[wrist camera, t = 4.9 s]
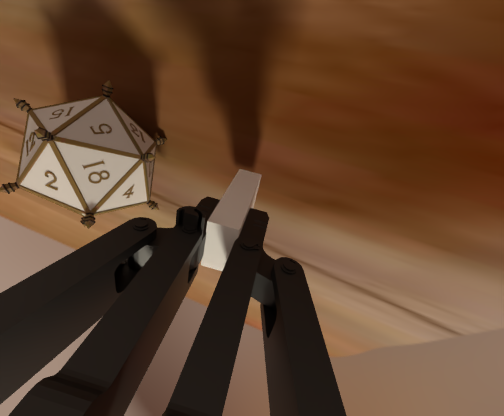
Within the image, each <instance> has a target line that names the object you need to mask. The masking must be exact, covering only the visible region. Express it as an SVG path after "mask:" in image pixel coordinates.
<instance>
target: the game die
mask: <svg viewBox="0 0 504 416" xmlns="http://www.w3.org/2000/svg"><path fill="white" fill-rule="evenodd" d="M102 86H103V89H102V90H103V95H102V96H97V97H91V98H86V99H81V100H76V101H71V102H66V103H61V104H55V105H50V106H45V107H40V108H35V109H32V108H31V107H30V106H29V105H30V104H27V103H26V102H25V100H19V99H15V98H13V99H14V100H15V102H16V104H17V105H16V106H17V108H20V109H21V110H22V111H26V112H27V113H28V115H27V121H26V127H25V132H24V138H23V144H22V150H21V156H20V162H19V168H18V173H17V179H16V182H15V183H8V184H2V186H1V188H0V192H5V193H8V194H10V192H12V191H13V192H15V190H16V189H18V188H21V189H23V190H25V191H28V192H30V193H32V194H34V195H37V196H39V197H41V198H44V199H46V200H48V201H50V202H53V203H55V204H57V205H59V206H62V207H64V208H66V209H68V210H71V211H73V212H75V213H77V214H80V215H82V216H83V218H81V219H82V221H81V223H82V224H83V225H84V227H85V226H87V228H88V229H89V228H90V227H91V226H92V225H93V224H94V223H95V221H94V220H95V218H94V216H95V215H99V214H103V213H108V212H112V211H116V210H121V209H125V208H129V207H134V206H138V205H143V204H148V205H149V207H151V208H152V209H157V210H159V208H158V205H157V203H155V201H151V200H150V196H151V188H152V179H153V171H154V162H155V154H156V145H161V144H164V142H165V141H166V140H167V139H165V138H162V137H160V138H157V139H156V140H154V139H153V138H151V137H150V136H149V135H148V134H147V133H146V132H145V131H144V130H143V129H142V128H141V127H140V126H139V125H138V124H137V123H136V122H135V121H134V120H133V119H132V118H131V117H130V116H129V115H128V114H127V113H125V112H124V111H123V110H122V109H121V108H120V107H119V106H118V105H117V104H116V103H115V102H114V101H113V100H112V99H111V98H110V95H111V93H112V89H113V88H112V86H111V83H110V81H109V80H108V81H107V82H106V83H105V84H104V85H102Z"/></svg>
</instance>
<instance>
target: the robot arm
mask: <svg viewBox="0 0 504 416" xmlns="http://www.w3.org/2000/svg"><path fill="white" fill-rule="evenodd" d="M260 179H261V174H257V173H253V172H250V171H246V170H243V169H239V171H238V173H237V174H236V176H235V177H234V179H233V181H232V182H231V184H230V185H229V187H228V189H227V190H226V192H225V193H224V195H223V197H222V198H221V200H218V199H215V198H211V197H206V198H204V199H202V200H201V201H200V202H199V204H198V205H197V206H196V207H192V206H185V207H182V208H179V209H178V210H177V215H176V225H175V227H174V228H157V225H156V222H155V221H153V220H152V219H149V218H144V217H139V218H134V219H131V220H129V221H127V222H125V223H124V224H122V225H120V226H118V227H117V228H115V229H113V230H111V231H109V232H108V233H106V234H104V235H102V236H101V237H99V238H97V239H95V240H94V241H92V242H90V243H88V244H87V245H85V246H83V247H81V248H79V249H78V250H76V251H74V252H72V253H71V254H69V255H67V256H65V257H64V258H62V259H60V260H58V261H56V262H55V263H53V264H51V265H49V266H48V267H46V268H44V269H42V270H41V271H39V272H37V273H35V274H33V275H32V276H30V277H28V278H26V279H25V280H23V281H21V282H19V283H18V284H16V285H14V286H12V287H10V288H9V289H7V290H5V291H3V292H2V293H0V404H1V403H3V401H5V400H6V399H7V398H8V397H9V396H11V395H12V394H13V393H14V392H15V391H16V390H18V389H19V388H20V387H21V386H22V385H24V384H25V383H26V382H27V381H28V380H29V379H31V378H32V377H33V376H34V375H35V374H36V373H37V372H39V371H40V370H41V369H42V368H43V367H44V366H45V365H47V364H48V363H49V362H50V361H51V360H53V358H55V357H56V356H57V355H58V354H60V353H61V352H62V351H63V350H64V349H65V348H67V347H68V346H69V345H70V344H71V343H72V342H73V341H75V340H76V339H77V338H78V337H79V336H81V335H82V334H83V333H84V332H85V331H86V330H87V329H89V328H90V327H91V326H92V325H93V324H95V323H96V322H97V321H98V320H99V319H100V318H102V319H101V320H100V321H99V322H98V324H97V325H96V326H95V327H94V329H93V330H92V331H91V332H90V334H89V335H88V336H87V337H86V339H85V340H84V341H83V343H82V344H81V345H80V346H79V348H78V349H77V350H76V351H75V353H74V354H73V355H72V356H71V358H70V359H69V360H68V361H67V363H66V364H65V365H64V366H63V368H62V369H61V370H60V371H59V372H58V373H57V374H55V375H54V376H50V377H47V378H44V379H42V380H41V381H40V382H38V383H37V384H36V385H35V386H34V387H33V388H32V389H31V390H30V391H29V392H28V393H27V394H26V395H25V396H24V398H23V399H22V400H21V401H20V402H19V404H18V405H17V406H16V407H15V408H14V410H13V411H12V412H11V413H10V414H9V416H124V414H125V412H126V410H127V408H128V406H129V404H130V402H131V400H132V398H133V397H134V395H135V392H136V391H137V389H138V387H139V385H140V383H141V381H142V379H143V377H144V375H145V373H146V371H147V369H148V367H149V365H150V363H151V362H152V359H153V357H154V356H155V354H156V351H157V350H158V348H159V346H160V344H161V342H162V340H163V338H164V336H165V334H166V332H167V330H168V328H169V326H170V325H171V323H172V321H173V319H174V317H175V315H176V313H177V311H178V309H179V307H180V305H181V303H182V300H183V299H184V297H185V295H186V293H187V291H188V289H189V288H190V286H191V284H192V282H193V280H194V278H195V276H196V274H197V271H198V265H199V263H200V261H201V259H202V261H201V265H203V266H206V267H209V268H213V269H216V270H220V271H222V274H221V276H220V278H219V281H218V283H217V286H216V288H215V291H214V293H213V296H212V298H211V301H210V303H209V306H208V308H207V311H206V313H205V315H204V318H203V320H202V323H201V325H200V328H199V331H198V333H197V335H196V338H195V340H194V343H193V346H192V347H191V350H190V352H189V355H188V357H187V360H186V362H185V365H184V368H183V370H182V372H181V375H180V377H179V380H178V382H177V384H176V387H175V389H174V392H173V394H172V397H171V399H170V402H169V404H168V407H167V408H166V411H165V412H164V413H163V414H162V416H222V413H223V408H224V405H225V400H226V396H227V392H228V388H229V384H230V380H231V376H232V371H233V367H234V363H235V359H236V355H237V351H238V347H239V343H240V338H241V334H242V330H243V326H244V322H245V318H246V314H247V309H248V305H249V301H250V297H253V298H254V299H256V300H257V301H259V302H260V303H261V304H260V307H261V318H262V329H263V340H264V351H265V362H266V373H267V384H268V395H269V405H270V416H346V413H345V409H344V406H343V402H342V399H341V396H340V392H339V389H338V386H337V382H336V379H335V375H334V372H333V369H332V365H331V362H330V358H329V355H328V352H327V348H326V345H325V342H324V338H323V335H322V331H321V328H320V325H319V321H318V318H317V314H316V311H315V308H314V304H313V301H312V298H311V294H310V291H309V287H308V284H307V281H306V277H305V274H304V270H303V268H302V266H301V265H300V264H299V263H298V262H297V261H295V260H293V259H291V258H287V257H281V258H279V259H277V260H275V259H273V258H271V257H270V256H268V255H267V254H266V253H265V251H264V250H263V241H264V237H265V233H266V228H267V224H268V220H269V217H268V214H267V212H263V211H260V210H256V209H253V207H254V203H255V199H256V195H257V191H258V187H259V183H260Z"/></svg>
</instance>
